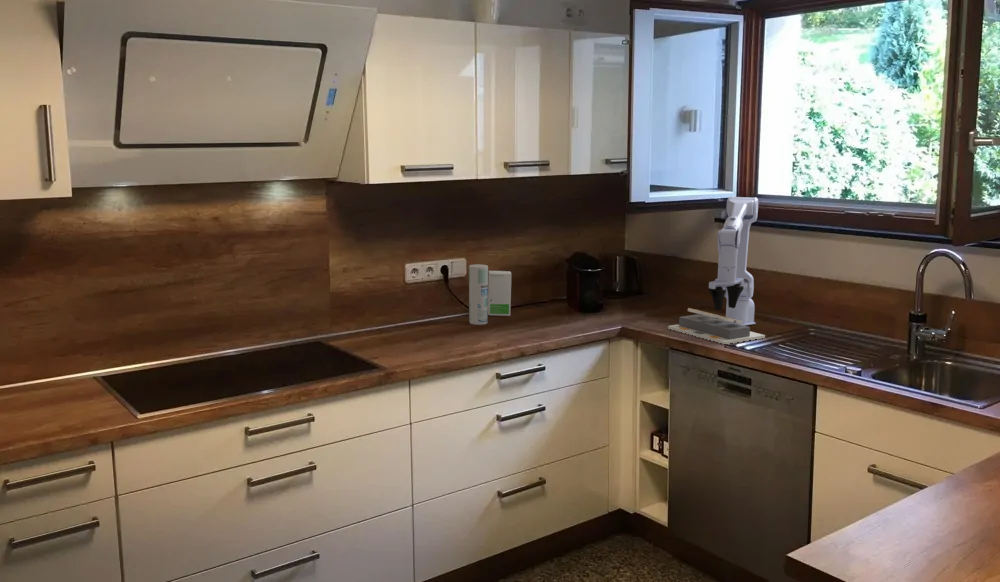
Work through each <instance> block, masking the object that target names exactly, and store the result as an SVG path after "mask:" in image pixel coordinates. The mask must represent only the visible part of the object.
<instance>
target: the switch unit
mask: <svg viewBox="0 0 1000 582" xmlns="http://www.w3.org/2000/svg"><path fill="white" fill-rule="evenodd" d="M667 328H668V330H670V329H671V330H670V331H674V330H675V332H679V333H681V332H682V333H681V334H685V333H686V334H685V335H688V334H689V336H692V335H693V337H695V336H696V338H699V337H700V338H699V339H702V338H704V339H703V340H706V339H707V341H709V340H711V341H710V342H713V341H715V342H714V343H716V342H718V343H717V344H720V343H722V344H721V345H724V344H728V345H731V344H730V343H733V344H738V343H737V342H739V343H744V342H743V341H745V342H750V341H749V340H751V341H756V340H755V339H757V340H763V339H766V335H765V334H762V333H757V332H754V331H751V327H750V326H749V325H745V326H744V325H740V324H736V323H732V322H728V321H725V320H721V319H717V318H713V317H709V316H705V315H701V314H697V313H696V314H692V315H691V314H690V315H685V316H679V319H678V324H673V325H667ZM762 338H763V339H762Z"/></svg>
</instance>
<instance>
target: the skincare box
mask: <svg viewBox="0 0 1000 582" xmlns="http://www.w3.org/2000/svg"><path fill="white" fill-rule="evenodd" d="M511 299H512V272H511V271H505V270H488V310H487V316H496V317H497V316H499V317H501V316H503V317H506V316H507V317H511V306H512V305H511V303H512V302H511V301H512V300H511Z"/></svg>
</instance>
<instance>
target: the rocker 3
mask: <svg viewBox="0 0 1000 582" xmlns="http://www.w3.org/2000/svg"><path fill="white" fill-rule="evenodd" d="M718 315H719V314H718ZM718 319H720V320H724V321H729V322H733V323H739V324H742V322H743V321H740V320H736V319H732V318H728V317H726V316H724V315H723V316H722V315H719V317H718Z"/></svg>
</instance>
